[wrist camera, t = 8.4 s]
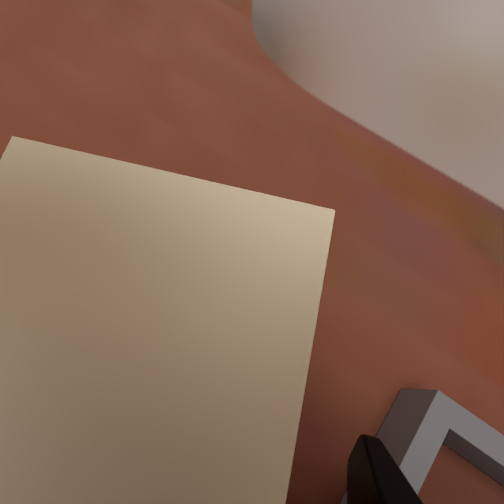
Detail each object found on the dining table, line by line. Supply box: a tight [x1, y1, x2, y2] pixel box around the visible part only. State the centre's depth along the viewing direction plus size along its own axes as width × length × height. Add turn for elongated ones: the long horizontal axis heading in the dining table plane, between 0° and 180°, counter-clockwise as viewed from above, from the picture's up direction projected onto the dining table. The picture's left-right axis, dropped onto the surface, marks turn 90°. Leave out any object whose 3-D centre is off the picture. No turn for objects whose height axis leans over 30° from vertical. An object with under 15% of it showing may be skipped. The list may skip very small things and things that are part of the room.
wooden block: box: [0, 136, 335, 504], centre depth 12 cm, size 4×4×15 cm
